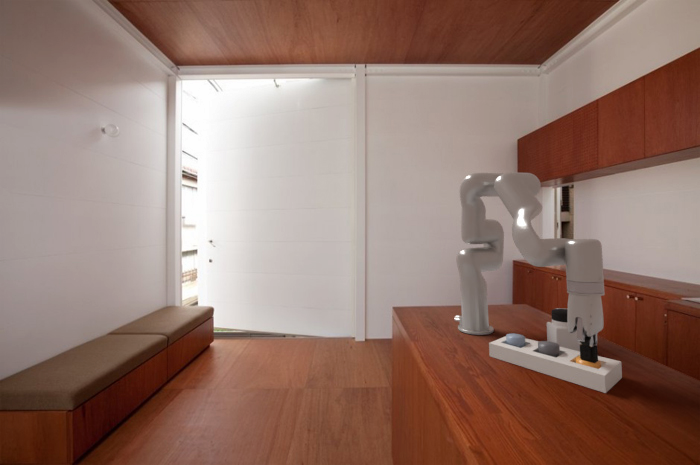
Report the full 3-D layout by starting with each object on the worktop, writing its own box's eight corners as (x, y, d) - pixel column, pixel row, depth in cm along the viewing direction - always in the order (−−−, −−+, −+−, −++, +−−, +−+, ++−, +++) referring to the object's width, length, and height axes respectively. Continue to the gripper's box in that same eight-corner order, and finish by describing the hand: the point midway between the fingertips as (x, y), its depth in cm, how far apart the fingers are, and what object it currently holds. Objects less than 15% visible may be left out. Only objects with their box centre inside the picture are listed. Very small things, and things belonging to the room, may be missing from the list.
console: (489, 356, 92) (488, 343, 93) (510, 346, 99) (509, 334, 99) (605, 393, 69) (604, 375, 69) (622, 377, 76) (621, 361, 76)
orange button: (573, 373, 78) (572, 359, 78) (580, 367, 80) (580, 354, 80) (597, 380, 74) (596, 366, 74) (604, 374, 76) (603, 360, 76)
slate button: (503, 347, 92) (502, 335, 92) (511, 343, 95) (511, 332, 95) (520, 352, 88) (519, 340, 88) (528, 348, 91) (528, 336, 91)
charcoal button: (535, 356, 85) (534, 343, 85) (543, 351, 88) (542, 339, 88) (555, 362, 81) (554, 348, 81) (563, 357, 84) (562, 344, 84)
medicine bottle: (583, 351, 93) (581, 312, 93) (557, 351, 94) (555, 312, 94) (571, 343, 100) (569, 307, 100) (547, 343, 101) (545, 306, 101)
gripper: (579, 282, 84) (582, 349, 84) (555, 289, 76) (559, 364, 76) (613, 285, 78) (618, 357, 78) (592, 293, 70) (596, 374, 69)
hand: (589, 360), depth 77 cm, fingers closed
